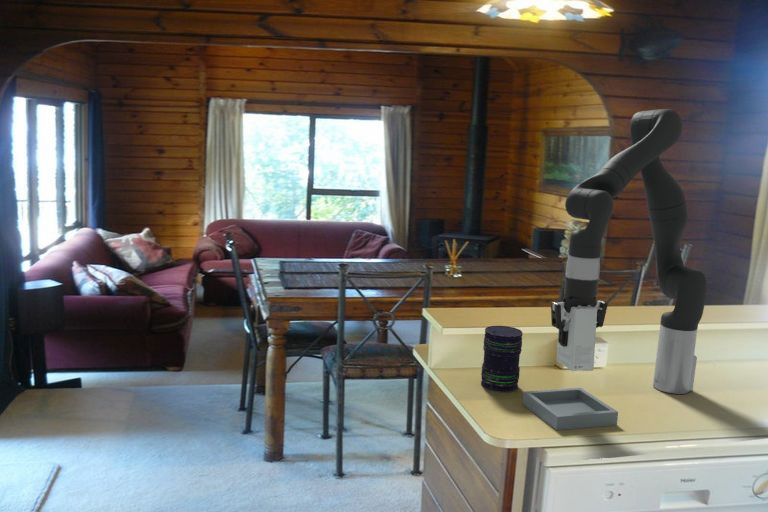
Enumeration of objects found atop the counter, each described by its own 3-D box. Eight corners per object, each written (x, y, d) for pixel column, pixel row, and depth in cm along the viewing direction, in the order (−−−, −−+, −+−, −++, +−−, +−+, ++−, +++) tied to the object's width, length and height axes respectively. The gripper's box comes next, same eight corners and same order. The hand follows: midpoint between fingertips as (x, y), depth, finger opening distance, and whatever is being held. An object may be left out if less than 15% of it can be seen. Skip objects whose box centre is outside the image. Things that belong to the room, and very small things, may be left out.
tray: (579, 399, 188) (580, 387, 187) (616, 424, 173) (618, 411, 172) (522, 403, 183) (523, 391, 182) (556, 430, 168) (557, 416, 167)
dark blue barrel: (507, 378, 201) (511, 324, 198) (525, 391, 192) (530, 335, 189) (474, 380, 198) (478, 326, 195) (490, 393, 189) (495, 337, 186)
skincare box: (593, 371, 172) (600, 309, 170) (570, 371, 171) (576, 309, 168) (576, 359, 180) (582, 300, 178) (553, 360, 179) (559, 300, 176)
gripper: (599, 271, 177) (593, 339, 180) (546, 272, 173) (540, 341, 176) (618, 278, 170) (611, 348, 173) (563, 279, 166) (556, 351, 169)
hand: (575, 344), depth 175 cm, fingers closed on skincare box, 6 cm apart
